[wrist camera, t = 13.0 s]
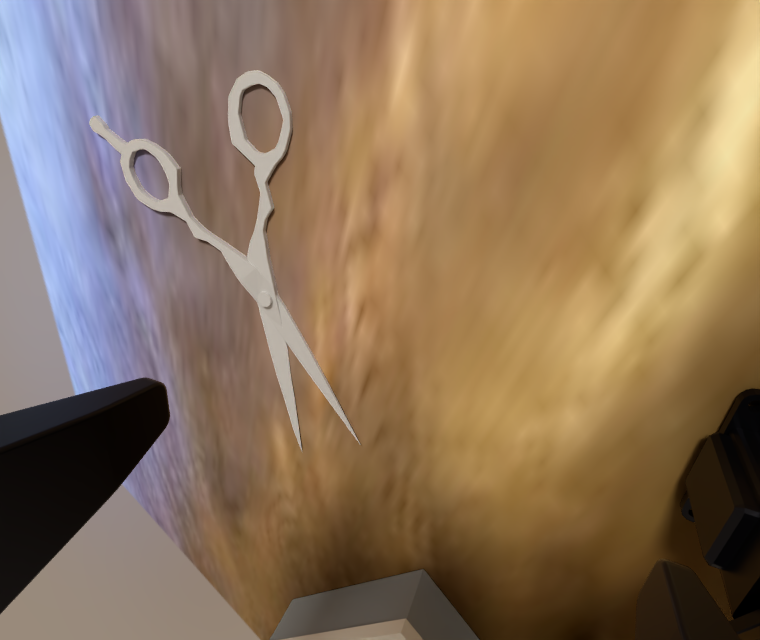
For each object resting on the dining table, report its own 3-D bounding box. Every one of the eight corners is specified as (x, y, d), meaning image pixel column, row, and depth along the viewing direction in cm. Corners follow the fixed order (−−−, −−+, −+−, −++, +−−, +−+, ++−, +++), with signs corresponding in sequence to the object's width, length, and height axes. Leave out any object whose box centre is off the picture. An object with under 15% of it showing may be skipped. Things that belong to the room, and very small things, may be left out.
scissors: (253, 18, 19) (416, 448, 25) (265, 21, 20) (421, 439, 25) (87, 120, 24) (255, 460, 29) (101, 119, 24) (262, 451, 30)
